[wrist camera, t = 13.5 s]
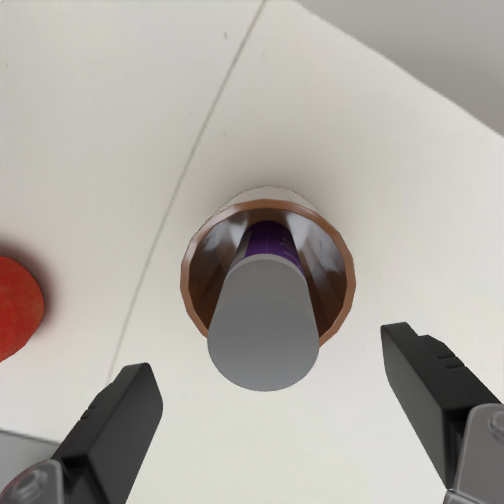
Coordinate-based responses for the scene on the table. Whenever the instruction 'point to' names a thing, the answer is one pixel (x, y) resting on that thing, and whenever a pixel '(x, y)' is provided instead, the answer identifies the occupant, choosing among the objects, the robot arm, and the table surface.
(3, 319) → the apple
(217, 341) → the container
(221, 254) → the tin
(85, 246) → the table surface
